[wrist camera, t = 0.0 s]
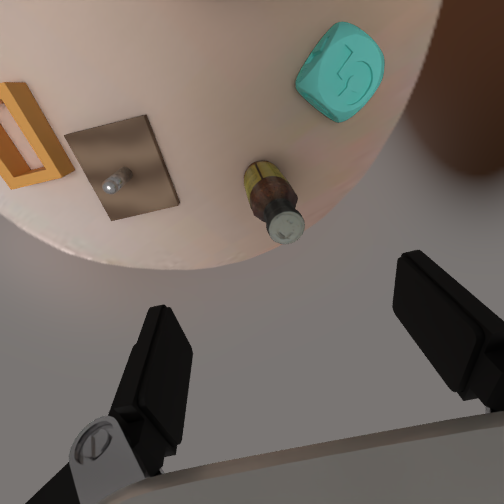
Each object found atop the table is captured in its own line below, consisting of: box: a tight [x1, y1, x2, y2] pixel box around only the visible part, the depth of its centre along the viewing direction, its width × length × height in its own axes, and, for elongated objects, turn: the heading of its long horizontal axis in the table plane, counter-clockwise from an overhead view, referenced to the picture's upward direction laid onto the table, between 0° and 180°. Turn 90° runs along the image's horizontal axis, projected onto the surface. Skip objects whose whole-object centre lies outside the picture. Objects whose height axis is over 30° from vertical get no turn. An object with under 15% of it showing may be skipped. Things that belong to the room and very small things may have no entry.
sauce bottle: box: [244, 161, 305, 244], centre depth 37 cm, size 7×6×20 cm
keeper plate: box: [64, 115, 180, 221], centre depth 39 cm, size 14×12×9 cm
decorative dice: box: [296, 22, 384, 123], centre depth 35 cm, size 8×8×8 cm
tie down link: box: [0, 82, 75, 190], centre depth 37 cm, size 12×8×4 cm, turn 12°
